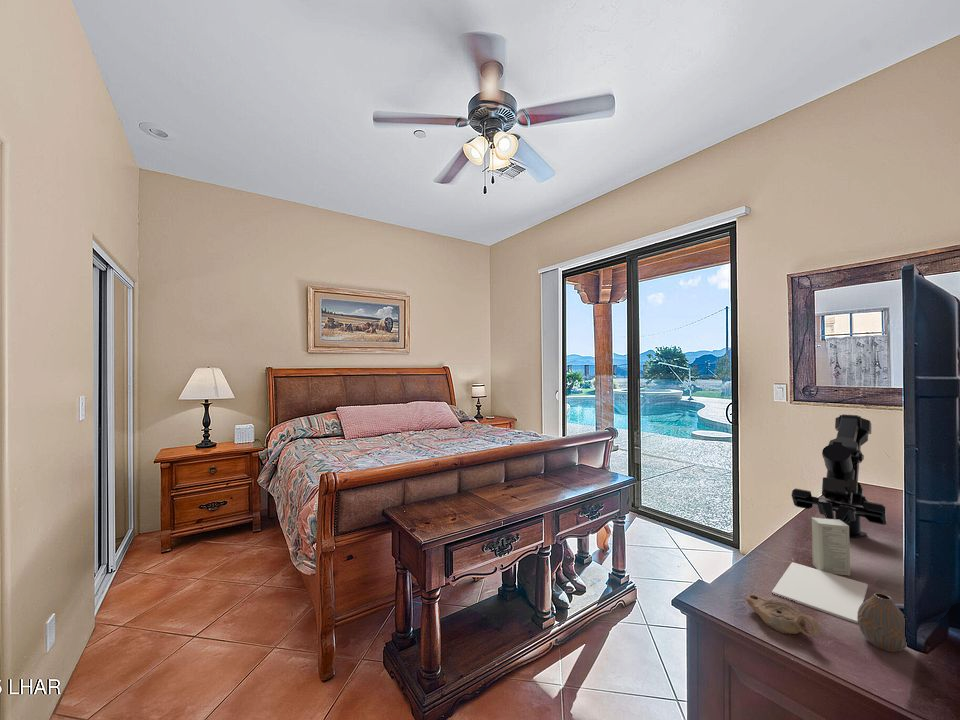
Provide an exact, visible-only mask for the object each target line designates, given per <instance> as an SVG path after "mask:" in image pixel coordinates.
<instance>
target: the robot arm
mask: <svg viewBox="0 0 960 720" xmlns="http://www.w3.org/2000/svg"><path fill="white" fill-rule="evenodd" d="M834 419H835V420H834V421H835V423H834V429H835V430H836V432H837V434H836V438H833V439H830V440H829V441H828V442H829V443H828V445H826V446H825V447H824V448H823V449H822V453H821V454H822V459H823V461H824V464H825V465H824V466H825V468H826V469H827V472H826V476H823V477H822V483H821V495H822V496H821V495H820V496H813V495H812V491H810V490H807V489H801V488H797V487H796V488H794V489H793V490H792V491H791V498H792V503H793V504H794V505H793V506H795V507H797V508H799V509H800V508H802V509H805V510H810V509H813V505H816V506H817V508H818V513H819V514H820V515H823V516H824V518H826V519H838V520H841V521H843V522H844V523H845V524H847V525H848V526H849V538H854V539H855V538H856V539H857V538H860V537H864V536H868V533H867V532H865V531H862V529H861V527H862V526H861V525H862V524H861V523H862V518H865V520H867V521H868V522H869V523H873V524H878V525H882V526H883V525H887V519H888V517H887V515H888V514H887V509H886V506H885V505H884V504H882V503H877V502H872V501H868V499H867V496H865V495H864V490H863V487H862V485H861V483H860V482H859V474H860V473H859V471H860V464H861V463H862V462H863V461H864V458H865V456H864V454H863V452H862V450H861V447H862V446H863V445H864V444H866V443H867V442H868V441H869V435H872V422H871V420H870V419H869V420H868V419H866V418H863V417H862V416H859V415H858V414H857V415H855V414H844V413H843V414H839V416H837V417H835V418H834ZM834 513H835V514H834Z"/></svg>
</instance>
